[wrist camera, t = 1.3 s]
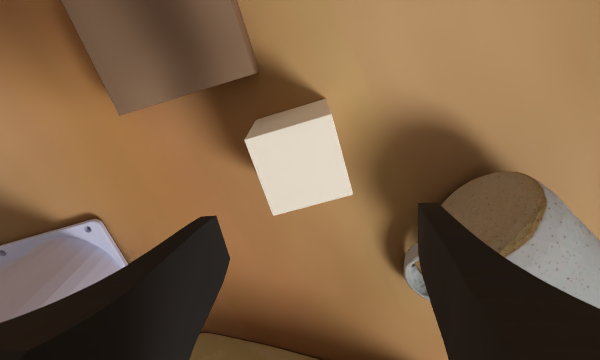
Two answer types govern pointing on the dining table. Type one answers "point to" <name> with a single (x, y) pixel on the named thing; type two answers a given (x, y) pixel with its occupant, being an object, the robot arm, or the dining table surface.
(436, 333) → the dining table surface
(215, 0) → the walnut base
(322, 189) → the cream cube
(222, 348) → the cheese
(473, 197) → the ceramic mug
